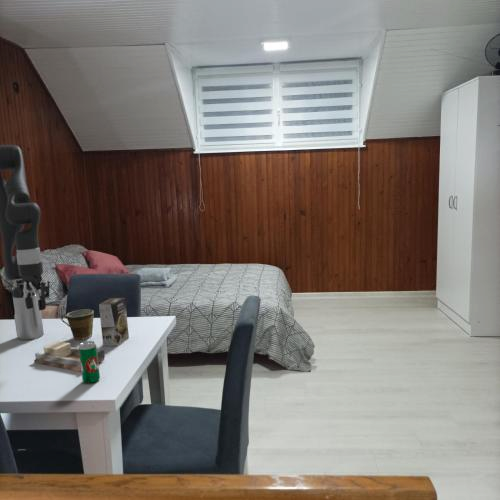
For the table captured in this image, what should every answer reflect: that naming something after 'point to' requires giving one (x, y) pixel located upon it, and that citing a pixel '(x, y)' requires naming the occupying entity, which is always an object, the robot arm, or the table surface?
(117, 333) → the coffee box
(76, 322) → the ceramic cup
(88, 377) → the soda can
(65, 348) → the birch block
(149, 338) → the table surface
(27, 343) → the table surface
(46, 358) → the shallow wooden tray
